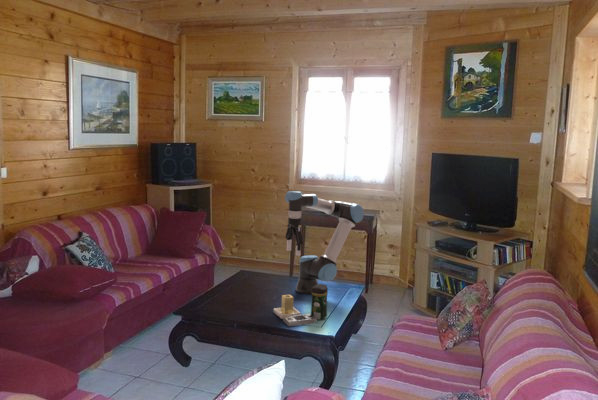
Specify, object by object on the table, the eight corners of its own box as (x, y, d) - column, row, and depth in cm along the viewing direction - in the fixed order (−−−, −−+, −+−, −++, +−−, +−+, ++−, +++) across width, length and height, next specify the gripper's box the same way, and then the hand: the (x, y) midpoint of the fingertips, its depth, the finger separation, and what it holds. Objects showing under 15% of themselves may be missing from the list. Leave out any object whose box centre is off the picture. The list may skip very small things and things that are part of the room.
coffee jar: (315, 313, 293) (316, 281, 291) (328, 316, 290) (329, 284, 288) (308, 318, 285) (309, 286, 282) (321, 321, 281) (323, 288, 279)
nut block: (289, 311, 293) (290, 294, 292) (292, 314, 289) (293, 296, 288) (281, 312, 291) (281, 294, 290) (284, 315, 287) (285, 297, 286)
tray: (292, 310, 298) (292, 306, 298) (300, 316, 287) (300, 312, 287) (273, 312, 293) (273, 308, 293) (281, 319, 283) (281, 315, 282)
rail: (309, 317, 286) (310, 313, 286) (316, 322, 279) (316, 318, 279) (283, 321, 280) (283, 316, 279) (288, 326, 272) (289, 321, 272)
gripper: (280, 214, 313) (279, 248, 316) (297, 221, 290) (296, 258, 293) (292, 214, 316) (290, 248, 319) (309, 221, 293) (308, 257, 296)
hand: (293, 253), depth 306 cm, fingers open, 13 cm apart
